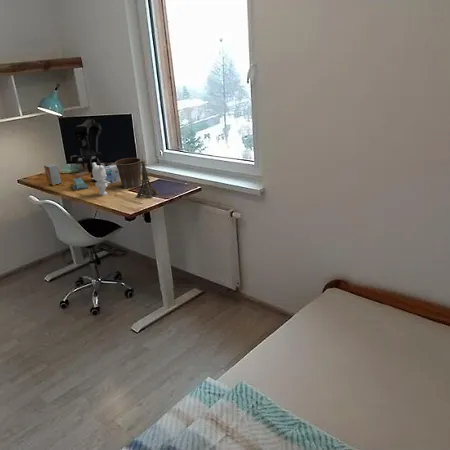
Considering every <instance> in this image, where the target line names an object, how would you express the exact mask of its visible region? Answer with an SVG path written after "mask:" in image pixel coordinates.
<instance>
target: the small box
mask: <svg viewBox="0 0 450 450" xmlns="http://www.w3.org/2000/svg"><path fill="white" fill-rule="evenodd" d="M43 167H44V173H45V177H46V182H47V184H48V183H49V184H52V185H54V184H59V183H61V184H62V180H61V176H60V170H59V166H58V164H55V163H49V164H45V165H43ZM49 184H48V185H49ZM52 185H51V186H52ZM59 185H60V184H59Z"/></svg>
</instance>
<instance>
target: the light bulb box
mask: <svg viewBox="0 0 450 450" xmlns="http://www.w3.org/2000/svg"><path fill="white" fill-rule="evenodd" d="M104 169H105V171H106V175H107V176H106V179H104V180H106V181H107V182H111V183H107V186H108V185H112V184H116V183H121V180H120V176H119V172H118V169H117V166H116V164H110V165H107V166H104Z"/></svg>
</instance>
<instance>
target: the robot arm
mask: <svg viewBox="0 0 450 450" xmlns="http://www.w3.org/2000/svg"><path fill="white" fill-rule="evenodd" d="M101 133H102V125H101V124H100V123H99V121H96V120H95V119H93V118H88V119H85V121H84V122H83V123H81V124H79V125H76V126H75V128H74V134H73V138H74V139H75V140H74V141H73V147H74V148H75V149H76V150H80V155H77V154H73V155H70V161H71V162H73V163H75V162H78V163H80V164H81V165H82V168H83V170H84V171H86V168H87V170H88V174H90V180H91V182H93V183H96V182H97V181H96V180H94V179H91V178H94V177H93V174H92V169H93V167H92V163H94V162H95V163H96V164H97V165H99V166H100V165H102V164H101V161H100V160H99V158H102V157H103V154H102V153H101V152H100V151H99V137H100V135H101ZM89 135H90V144H89ZM84 160H85V161H87V163H86V165H85V163H84ZM85 166H86V167H85Z"/></svg>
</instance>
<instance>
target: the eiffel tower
mask: <svg viewBox="0 0 450 450" xmlns="http://www.w3.org/2000/svg"><path fill="white" fill-rule="evenodd" d="M145 163H146V160H144V158H143V155H142V158H141V185H140V186H139V187H140V189H139V190H138V192H137V193H136V196H135V197H134V198H135V199H137V198H138V199H140V198H141V197H142V194H145V195H146V196H147V197H146V199H152V198H153V195H159V194H160V192H158V190H156V188H155V187H153V185H152V184H151V182H150V178H149V176H148V171H147V168H146V164H145ZM150 191H151V192H152V193H151V192H150ZM152 194H153V195H152Z"/></svg>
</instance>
